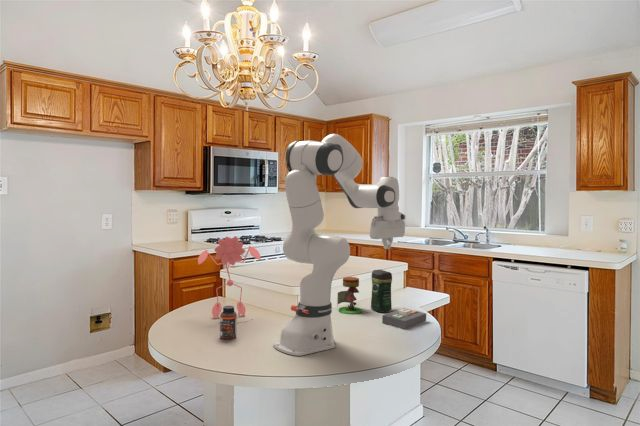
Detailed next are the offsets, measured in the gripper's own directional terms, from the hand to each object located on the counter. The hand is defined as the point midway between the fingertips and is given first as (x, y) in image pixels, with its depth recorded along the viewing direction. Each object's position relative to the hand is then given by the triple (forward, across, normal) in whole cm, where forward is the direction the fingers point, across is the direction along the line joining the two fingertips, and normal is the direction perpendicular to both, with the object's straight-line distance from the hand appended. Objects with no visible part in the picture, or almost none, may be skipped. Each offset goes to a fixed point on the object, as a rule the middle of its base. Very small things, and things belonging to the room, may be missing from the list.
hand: (387, 248), depth 180 cm
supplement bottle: (+31, -60, +27) cm, 73 cm away
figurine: (+31, -47, +46) cm, 73 cm away
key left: (+29, -1, -7) cm, 30 cm away
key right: (+29, +9, -7) cm, 31 cm away
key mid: (+28, +4, -7) cm, 29 cm away
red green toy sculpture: (+31, +1, +20) cm, 37 cm away
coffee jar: (+31, +12, +11) cm, 35 cm away
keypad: (+31, +4, -7) cm, 32 cm away
